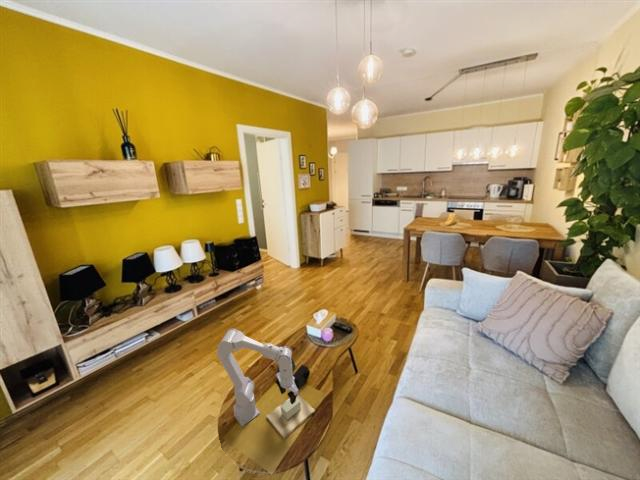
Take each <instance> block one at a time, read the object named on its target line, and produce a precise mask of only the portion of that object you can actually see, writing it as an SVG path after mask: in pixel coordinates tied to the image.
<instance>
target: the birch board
mask: <svg viewBox="0 0 640 480" xmlns="http://www.w3.org/2000/svg"><path fill="white" fill-rule="evenodd" d="M296 398H297V399H298V400H299V401H300V405H301V410H300V411H299V412H298V413H296V414H295V415H294V416H293V417H292V418H290V419H289V420H288V421H287V420H286V419H285V418H284V417H283V416H282V414H281V406H282V405H283V404H284V403H286V402H287V401H288V400H290V398H289V397H288V399H286V400H284V402H282V403H281V404H279V406H277V407H276V408H274V409H273V410H272V411H271V412H269V413H268V414H267V415H265V416H266V419H267V420H268V421H269V423H270V424H271V425H272V426H273V427H274V429H275V430H276V431H277V433H279V434H280V437H282V438H283V439H286V438H287V437H288V436H289V435H290V434H292V433H293V432H294V431H295V430H296V429H297V428H298V427H299V426H301V425H302V424H303V423H304V422H305V421H306V420H308V419H309V418H310V417H311V416H312V415H313V414H314V413H315V412H316V410H315V409H314V408H313V407H312V405H310V404H309V403H308V402H307V401H306V400H305V399H304V398H303V397H302V396H301V395H299V394H298V395H297V397H296ZM312 413H313V414H312ZM311 414H312V415H311ZM310 415H311V416H310ZM309 416H310V417H309ZM308 417H309V418H308Z"/></svg>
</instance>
